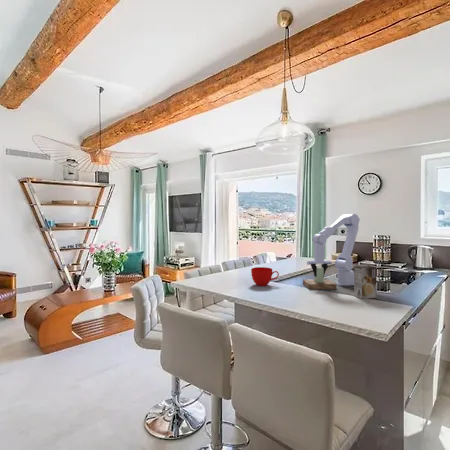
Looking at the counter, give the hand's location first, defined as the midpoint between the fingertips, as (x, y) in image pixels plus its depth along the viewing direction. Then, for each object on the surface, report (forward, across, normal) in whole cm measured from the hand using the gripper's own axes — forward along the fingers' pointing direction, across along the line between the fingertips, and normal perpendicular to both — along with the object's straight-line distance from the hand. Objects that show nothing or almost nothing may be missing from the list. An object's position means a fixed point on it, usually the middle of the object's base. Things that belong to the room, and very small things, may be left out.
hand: (319, 276), depth 188 cm
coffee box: (+6, +17, -24) cm, 30 cm away
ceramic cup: (+6, -32, +5) cm, 33 cm away
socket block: (+6, 0, 0) cm, 6 cm away
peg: (+4, 0, 0) cm, 4 cm away
